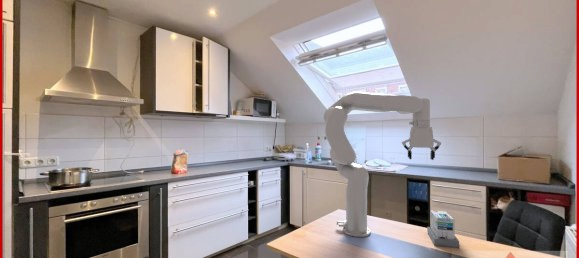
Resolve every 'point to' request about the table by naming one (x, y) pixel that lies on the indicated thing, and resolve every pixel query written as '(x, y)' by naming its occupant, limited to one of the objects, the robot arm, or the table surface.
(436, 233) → the light bulb box
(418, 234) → the table surface
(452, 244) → the tray
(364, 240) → the table surface
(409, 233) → the table surface
